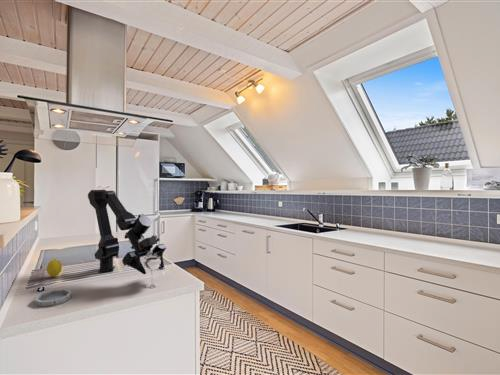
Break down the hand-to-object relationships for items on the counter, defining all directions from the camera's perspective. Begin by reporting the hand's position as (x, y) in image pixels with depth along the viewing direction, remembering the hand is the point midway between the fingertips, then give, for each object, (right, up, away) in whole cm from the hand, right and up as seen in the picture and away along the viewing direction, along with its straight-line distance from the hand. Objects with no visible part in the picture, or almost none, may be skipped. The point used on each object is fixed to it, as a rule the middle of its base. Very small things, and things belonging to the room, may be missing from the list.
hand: (154, 270), depth 118 cm
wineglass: (-1, -7, +1) cm, 7 cm away
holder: (-32, -7, -14) cm, 36 cm away
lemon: (-47, -5, +7) cm, 48 cm away
